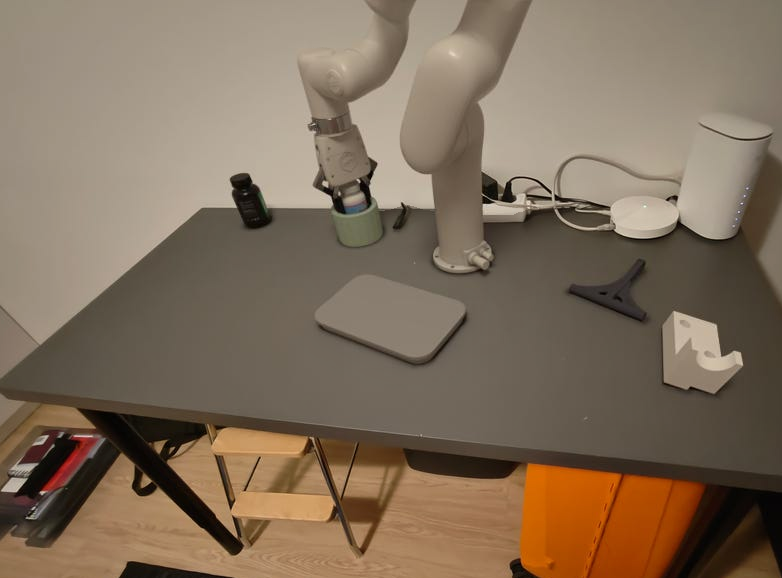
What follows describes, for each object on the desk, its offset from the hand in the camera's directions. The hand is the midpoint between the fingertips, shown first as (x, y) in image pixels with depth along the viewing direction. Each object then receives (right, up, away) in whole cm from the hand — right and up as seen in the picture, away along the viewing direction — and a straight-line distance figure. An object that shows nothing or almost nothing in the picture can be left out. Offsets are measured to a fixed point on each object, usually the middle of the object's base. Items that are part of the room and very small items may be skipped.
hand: (354, 206), depth 104 cm
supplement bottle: (-28, +1, +15) cm, 31 cm away
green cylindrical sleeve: (+1, -5, +5) cm, 7 cm away
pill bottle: (0, -4, +4) cm, 6 cm away
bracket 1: (+55, -21, -17) cm, 61 cm away
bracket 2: (+60, -35, -32) cm, 77 cm away
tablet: (+11, -28, -18) cm, 35 cm away
